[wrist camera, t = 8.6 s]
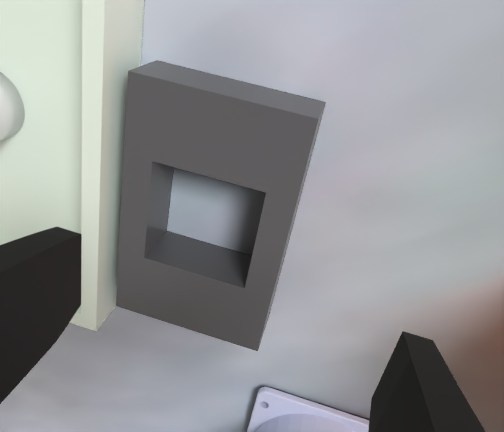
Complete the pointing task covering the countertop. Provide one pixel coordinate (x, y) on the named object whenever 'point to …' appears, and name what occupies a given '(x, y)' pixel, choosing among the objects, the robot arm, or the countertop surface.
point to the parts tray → (70, 130)
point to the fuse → (10, 109)
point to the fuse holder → (215, 166)
